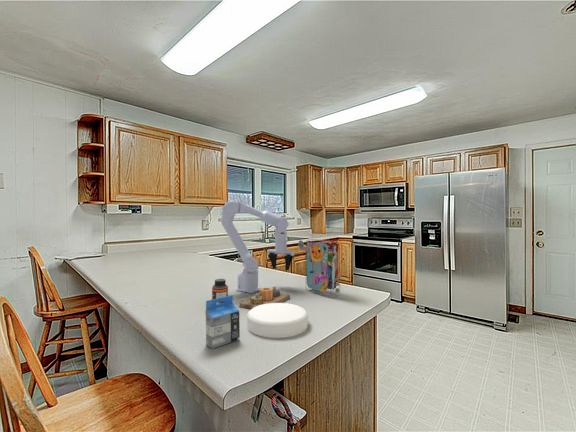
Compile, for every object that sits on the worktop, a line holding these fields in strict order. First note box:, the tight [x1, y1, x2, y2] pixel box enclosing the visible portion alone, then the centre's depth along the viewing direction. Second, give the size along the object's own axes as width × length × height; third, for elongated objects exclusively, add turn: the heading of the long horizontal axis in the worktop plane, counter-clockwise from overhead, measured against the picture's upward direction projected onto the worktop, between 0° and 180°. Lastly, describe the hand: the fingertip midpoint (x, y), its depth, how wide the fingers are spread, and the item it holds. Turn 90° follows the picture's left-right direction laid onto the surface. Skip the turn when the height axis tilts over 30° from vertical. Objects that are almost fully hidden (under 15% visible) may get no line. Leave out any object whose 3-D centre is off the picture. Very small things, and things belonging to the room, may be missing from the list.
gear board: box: [239, 286, 291, 310], centre depth 117 cm, size 11×20×5 cm, turn 149°
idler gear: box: [258, 286, 273, 301], centre depth 117 cm, size 6×6×4 cm
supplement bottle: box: [211, 278, 229, 305], centre depth 109 cm, size 6×6×11 cm
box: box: [297, 238, 341, 299], centre depth 134 cm, size 25×6×24 cm, turn 39°
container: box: [246, 302, 309, 339], centre depth 94 cm, size 20×20×5 cm
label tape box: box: [205, 294, 241, 350], centre depth 81 cm, size 9×4×12 cm, turn 133°
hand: (280, 269), depth 140 cm, fingers open, 7 cm apart
